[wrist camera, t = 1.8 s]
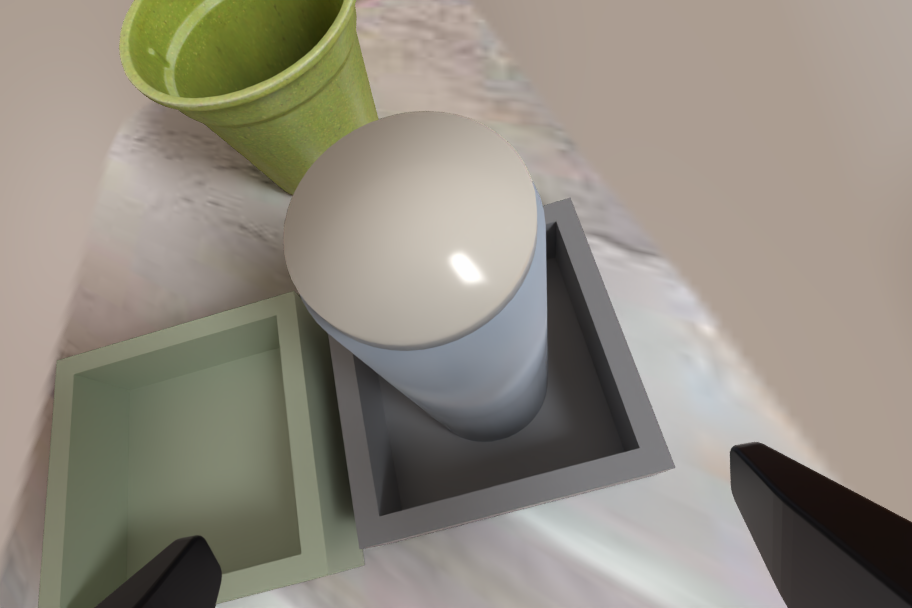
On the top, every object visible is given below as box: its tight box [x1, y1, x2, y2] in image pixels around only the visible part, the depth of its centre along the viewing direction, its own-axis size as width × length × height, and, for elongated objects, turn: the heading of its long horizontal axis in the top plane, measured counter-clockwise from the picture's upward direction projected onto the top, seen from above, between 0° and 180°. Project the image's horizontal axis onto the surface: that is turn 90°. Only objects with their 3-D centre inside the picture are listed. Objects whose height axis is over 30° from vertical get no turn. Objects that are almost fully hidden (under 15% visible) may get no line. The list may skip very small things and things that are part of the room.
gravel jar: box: [283, 111, 548, 442], centre depth 15 cm, size 5×5×12 cm
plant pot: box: [119, 0, 378, 195], centre depth 23 cm, size 9×9×9 cm
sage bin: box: [38, 291, 365, 608], centre depth 20 cm, size 10×10×4 cm
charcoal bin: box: [328, 198, 675, 549], centre depth 20 cm, size 10×10×4 cm
